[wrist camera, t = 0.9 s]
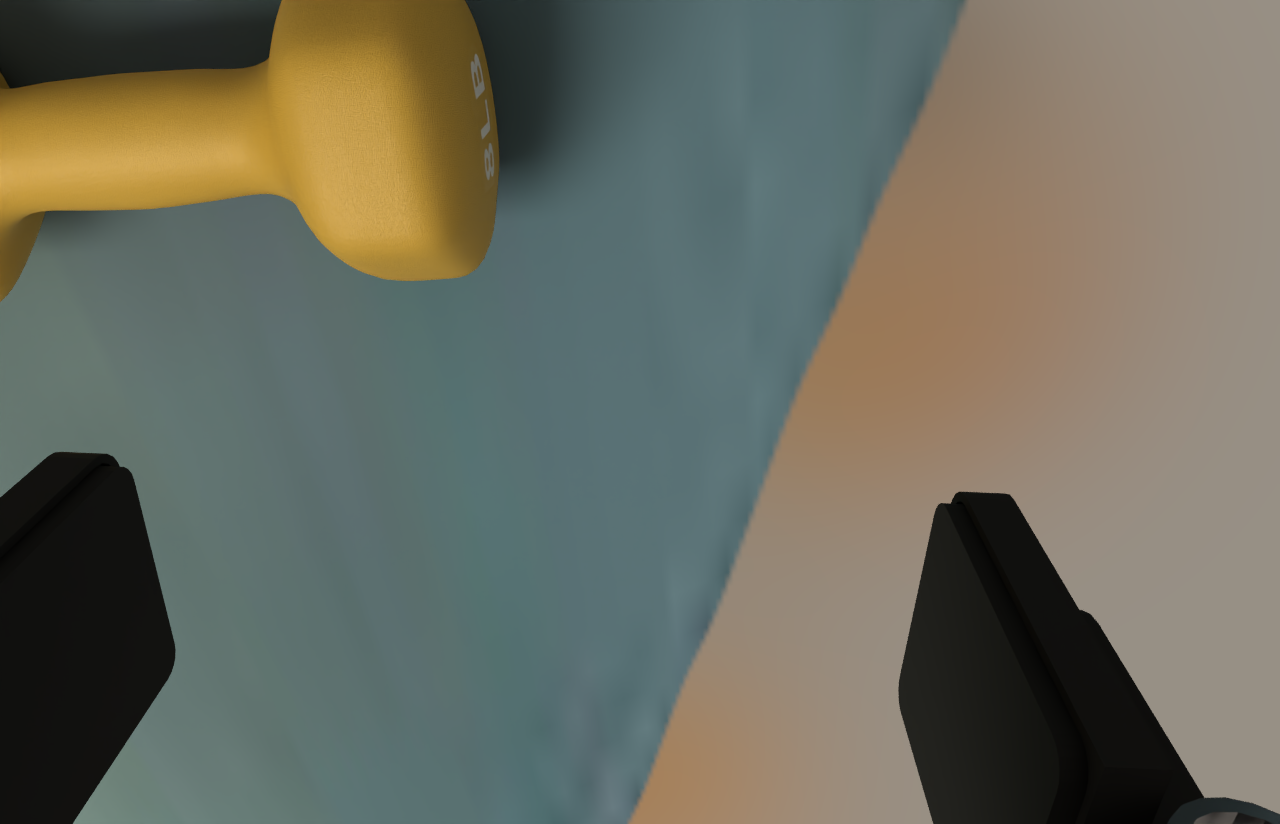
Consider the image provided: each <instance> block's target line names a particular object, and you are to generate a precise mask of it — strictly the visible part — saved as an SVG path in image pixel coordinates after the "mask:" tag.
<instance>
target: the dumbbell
mask: <svg viewBox="0 0 1280 824" xmlns="http://www.w3.org/2000/svg"><path fill="white" fill-rule="evenodd" d="M498 178H499V144H498V132H497V123H496V114H495V107H494V99H493V93H492V87H491V81H490V76H489V71H488V66H487V62H486V57H485V53H484V49H483V45H482V41H481V38H480V35H479V32H478V29H477V26H476V23H475V21H474V18H473V16H472V14H471V12H470V10H469V8H468V6H467V4H466V2H465V0H282V1H281V4H280V7H279V11H278V14H277V17H276V21H275V26H274V30H273V35H272V41H271V47H270V55H269V58H268V59H267V60H266V61H264V62H262V63H260V64H258V65H255V66H251V67H246V68H238V69H185V70H169V71H152V72H134V73H119V74H110V75H101V76H93V77H86V78H77V79H68V80H60V81H52V82H45V83H40V84H35V85H30V86H25V87H20V88H12V89H10V88H9V86H8V84H7V82H6V81H5V79H4V77H3V75H2V74H1V72H0V302H1V301H2V300H3V299H4V298H5V297H6V296H7V295H8V294H9V292H10V291H11V290H12V288H13V287H14V285H15V284H16V282H17V280H18V278H19V277H20V275H21V273H22V270H23V268H24V266H25V264H26V262H27V260H28V257H29V255H30V253H31V250H32V248H33V246H34V243H35V241H36V238H37V235H38V233H39V230H40V227H41V224H42V221H43V218H44V215H45V211H55V210H137V209H155V208H165V207H173V206H180V205H188V204H195V203H202V202H209V201H215V200H222V199H228V198H234V197H240V196H246V195H254V194H274V195H278V196H282V197H284V198H287V199H289V200H291V201H292V202H293V203H295V204H296V205H297V207H298V209H299V211H300V213H301V215H302V216H303V218H304V220H305V222H306V223H307V225H308V226H309V227H310V229H311V230H312V232H313V233H314V234H315V236H316V237H317V238H318V240H319V241H320V242H321V243H322V244H323V245H324V246H325V247H326V248H327V249H328V250H330V251H331V252H332V253H333V254H334V255H336V256H337V257H338V258H339V259H341V260H342V261H343V262H345V263H346V264H348V265H350V266H351V267H353V268H355V269H357V270H359V271H361V272H363V273H366V274H369V275H373V276H376V277H379V278H383V279H389V280H401V281H420V280H435V279H448V278H457V277H462V276H466V275H468V274H469V273H471V272H472V271H474V270H475V269H476V268H477V267H478V266H479V265H480V263H481V262H482V261H483V259H484V258H485V255H486V253H487V250H488V248H489V245H490V242H491V238H492V234H493V230H494V224H495V214H496V202H497V190H498Z"/></svg>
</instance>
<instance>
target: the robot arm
mask: <svg viewBox="0 0 1280 824" xmlns="http://www.w3.org/2000/svg"><path fill="white" fill-rule="evenodd" d="M174 661H175V643H174V639H173V635H172V631H171V627H170V623H169V619H168V615H167V611H166V607H165V603H164V599H163V595H162V591H161V587H160V583H159V579H158V575H157V571H156V567H155V563H154V559H153V554H152V550H151V546H150V542H149V538H148V534H147V530H146V526H145V522H144V518H143V514H142V510H141V506H140V502H139V498H138V494H137V490H136V486H135V482H134V479H133V476H132V473H131V472H130V471H129V470H128V469H127V468H125V467H120V466H119V464H118V462H117V461H116V460H115V458H114V457H113V456H110V455H108V454H97V453H74V452H55V453H53V454H51V455H50V456H48V457H47V458H46V459H44V460H43V461H42V462H41V463H40V464H39V465H37V466H36V467H35V468H34V469H33V470H32V471H30V472H29V473H28V474H27V475H26V476H25V477H24V478H22V479H21V480H20V481H19V482H18V483H17V484H15V485H14V486H13V487H12V488H11V489H10V490H8V491H7V492H6V493H5V494H4V495H3V496H2V497H0V824H73V822H74V821H75V819H76V818H77V816H78V815H79V813H80V812H81V810H82V809H83V807H84V805H85V804H86V802H87V801H88V799H89V798H90V796H91V795H92V793H93V792H94V790H95V789H96V787H97V786H98V784H99V783H100V781H101V780H102V778H103V777H104V775H105V774H106V772H107V771H108V769H109V768H110V766H111V765H112V763H113V762H114V760H115V759H116V757H117V756H118V754H119V752H120V751H121V749H122V748H123V746H124V745H125V743H126V742H127V740H128V739H129V737H130V736H131V734H132V733H133V731H134V730H135V728H136V727H137V725H138V724H139V722H140V721H141V719H142V718H143V716H144V715H145V713H146V712H147V710H148V709H149V707H150V706H151V704H152V702H153V701H154V699H155V698H156V696H157V695H158V693H159V692H160V690H161V689H162V687H163V686H164V684H165V683H166V681H167V680H168V678H169V676H170V674H171V672H172V669H173V666H174ZM899 705H900V710H901V714H902V718H903V721H904V724H905V728H906V731H907V735H908V738H909V741H910V745H911V749H912V752H913V755H914V759H915V762H916V765H917V769H918V773H919V776H920V780H921V783H922V786H923V790H924V793H925V797H926V800H927V803H928V807H929V810H930V814H931V817H932V821H933V824H1280V814H1278V813H1275V812H1273V811H1270V810H1268V809H1266V808H1263V807H1261V806H1258V805H1256V804H1253V803H1249V802H1244V801H1240V800H1235V799H1230V798H1225V797H1223V798H1204V796H1203V795H1202V793H1201V791H1200V790H1199V788H1198V787H1197V785H1196V783H1195V782H1194V780H1193V778H1192V777H1191V775H1190V773H1189V772H1188V770H1187V768H1186V767H1185V765H1184V764H1183V762H1182V760H1181V759H1180V757H1179V755H1178V754H1177V752H1176V750H1175V749H1174V747H1173V745H1172V744H1171V742H1170V740H1169V739H1168V737H1167V736H1166V734H1165V732H1164V731H1163V729H1162V727H1161V726H1160V724H1159V722H1158V721H1157V719H1156V717H1155V716H1154V714H1153V713H1152V711H1151V709H1150V708H1149V706H1148V704H1147V703H1146V701H1145V700H1144V698H1143V696H1142V694H1141V693H1140V691H1139V690H1138V688H1137V686H1136V685H1135V683H1134V681H1133V680H1132V678H1131V676H1130V675H1129V673H1128V671H1127V670H1126V668H1125V667H1124V665H1123V663H1122V662H1121V660H1120V658H1119V657H1118V655H1117V653H1116V652H1115V650H1114V649H1113V647H1112V645H1111V644H1110V642H1109V640H1108V639H1107V637H1106V635H1105V634H1104V632H1103V630H1102V629H1101V627H1100V625H1099V624H1098V623H1097V621H1096V620H1095V619H1094V618H1093V617H1092V615H1091V614H1089V613H1087V612H1085V611H1083V610H1079V609H1078V607H1077V605H1076V604H1075V602H1074V600H1073V598H1072V597H1071V595H1070V593H1069V592H1068V590H1067V588H1066V587H1065V585H1064V583H1063V582H1062V580H1061V578H1060V577H1059V575H1058V573H1057V571H1056V570H1055V568H1054V566H1053V565H1052V563H1051V561H1050V560H1049V558H1048V556H1047V555H1046V553H1045V551H1044V550H1043V548H1042V546H1041V544H1040V543H1039V541H1038V539H1037V538H1036V536H1035V534H1034V533H1033V531H1032V529H1031V528H1030V526H1029V524H1028V523H1027V521H1026V519H1025V517H1024V516H1023V514H1022V513H1021V511H1020V509H1019V507H1018V506H1017V504H1016V502H1015V501H1014V499H1013V498H1012V497H1011V496H1010V495H1009V494H1001V493H978V492H958V493H956V494H955V496H954V498H953V499H952V502H951V504H946V503H941V504H939V505H938V506H937V508H936V511H935V514H934V518H933V523H932V528H931V532H930V537H929V542H928V547H927V551H926V556H925V561H924V566H923V571H922V575H921V580H920V585H919V589H918V594H917V598H916V603H915V608H914V612H913V617H912V622H911V627H910V632H909V636H908V641H907V645H906V650H905V655H904V660H903V664H902V669H901V674H900V679H899Z"/></svg>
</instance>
